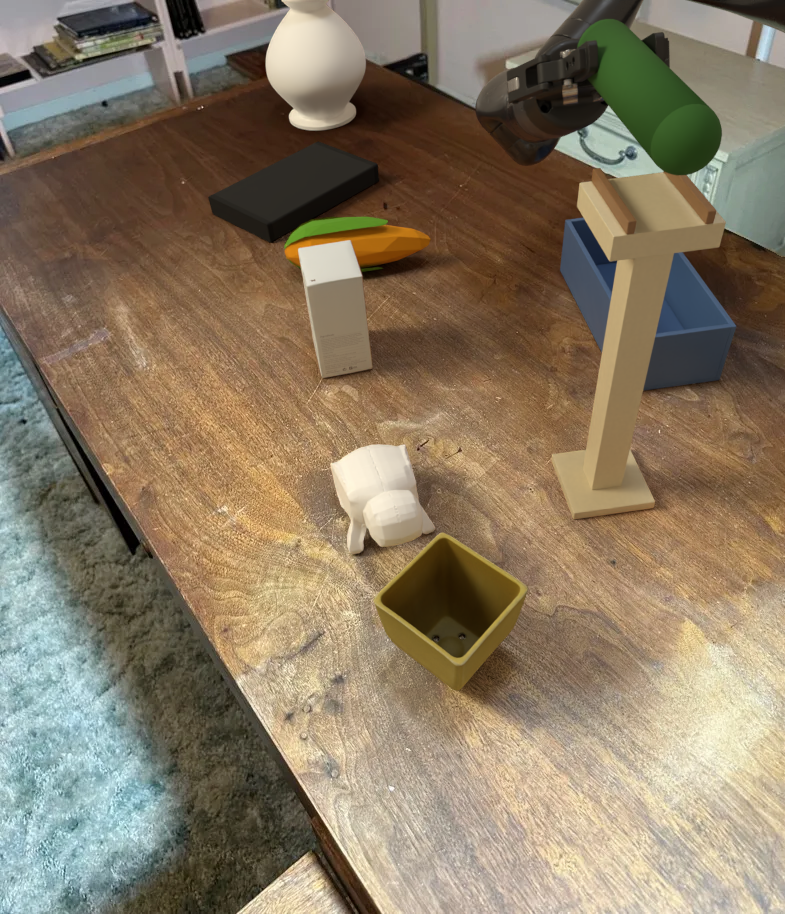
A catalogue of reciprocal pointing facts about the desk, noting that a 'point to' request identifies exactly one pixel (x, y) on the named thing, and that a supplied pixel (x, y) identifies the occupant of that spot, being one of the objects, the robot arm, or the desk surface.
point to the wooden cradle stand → (630, 324)
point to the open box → (681, 319)
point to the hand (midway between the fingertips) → (626, 52)
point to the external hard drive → (293, 190)
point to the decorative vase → (315, 65)
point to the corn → (358, 239)
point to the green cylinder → (653, 101)
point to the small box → (336, 307)
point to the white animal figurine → (380, 496)
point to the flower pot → (450, 609)
